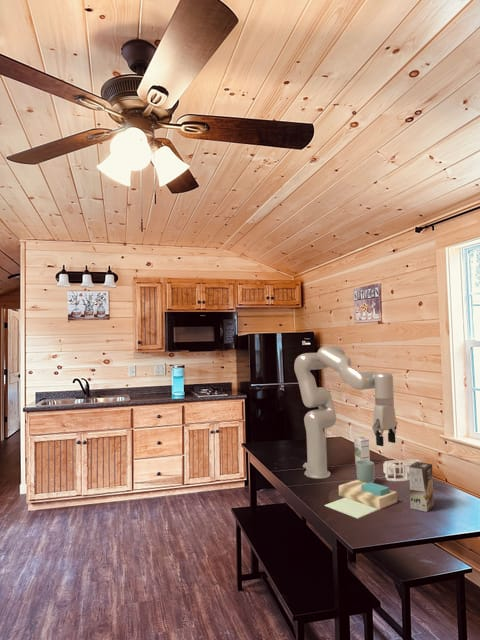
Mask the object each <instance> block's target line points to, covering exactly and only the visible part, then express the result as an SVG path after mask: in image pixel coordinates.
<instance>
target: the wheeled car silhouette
mask: <svg viewBox="0 0 480 640" xmlns="http://www.w3.org/2000/svg"><path fill="white" fill-rule="evenodd" d="M416 462H420V463H423V460H422V459H415V458H410V459H393V460H385V461H384V462H383V464H382V467H383V470H382V471H383V473H384V474H385V475H384V477H385V478H386V481H388V482H389V481H390V482H404V481H405V482H406V481H408V482H409V481H410V478H409V466H411V465H412V464H414V463H416ZM397 463H398V464H397ZM397 469H399V470H398V472H397V471H396V470H397ZM397 476H402V477H401V478H397ZM389 477H390V478H389ZM391 477H392V478H391Z"/></svg>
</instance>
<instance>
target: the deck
mask: <svg viewBox="0 0 480 640" xmlns="http://www.w3.org/2000/svg"><path fill="white" fill-rule="evenodd" d="M363 484H366V483H365V482H362V481H358V479H355V480H351V481H349V482H346V483H343V484H340V485H338V496H339V497H342V498H347V499H350V500H353V501H356V502H359V503H362V504H365V505H368V506H370V507H373V508H376V509H378V511H379V510H382V509H384V508H387V507H389V506H392V505H394V504H396V503H398V492H397V491H395V490H391V489H389V493H387V494H385V495H382V496H378V495H375V494H372V493H369V492H366V491H363V490H362V488H361V485H363Z"/></svg>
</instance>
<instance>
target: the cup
mask: <svg viewBox="0 0 480 640" xmlns="http://www.w3.org/2000/svg"><path fill="white" fill-rule="evenodd" d="M355 468H356V471H355V472H356V477H357V479H356V480H358V481H362V482H365V483H369V482H372V483H374V482H375V469H376V468H375V462H374V461H371V460H370V461H369V460H359V461H357V462H356V465H355Z"/></svg>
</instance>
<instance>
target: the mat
mask: <svg viewBox="0 0 480 640" xmlns="http://www.w3.org/2000/svg"><path fill="white" fill-rule="evenodd" d="M324 507H327V508H328V509H332V510H334V511H337V512H339V513H342V514H345V515H346V516H347V515H348V516H350V517H352V518H355V519H361V518H362V517H365V516H368V515H370V514H372V513H375V512H377V511H379V509H377V508H374V507H371V506H368V505H365V504H362V503H359V502H357V501H354V500H351V499H348V498H345V497H342V498H340V499H337V500H335V501H332V502H329V503H326V504H324Z"/></svg>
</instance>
